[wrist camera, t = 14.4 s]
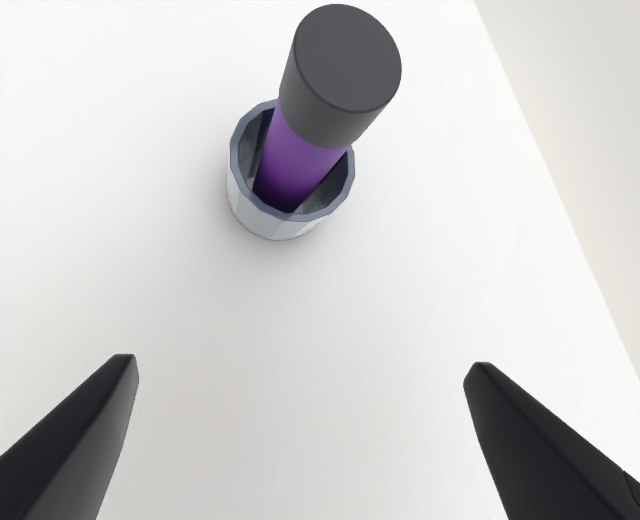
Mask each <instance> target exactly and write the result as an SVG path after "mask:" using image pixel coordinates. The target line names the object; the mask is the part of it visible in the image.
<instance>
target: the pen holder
mask: <svg viewBox="0 0 640 520" xmlns="http://www.w3.org/2000/svg"><path fill="white" fill-rule="evenodd" d="M277 100H278V99H275V100H271V101H268V102H264V103H260V104H258V105H257V106H255V107H254V108H253V109H252V110H251V111H249V112H248V113H247V114H246V115H244V116H243V117H242V118H241V119H240V120H239V122H238V125H237V127H236V129H235V131H234V133H233V135H232V137H231V139H230V146H229V160H228V175H227V196H228V200H229V204H230V207H231V209H232V211H233V213H234V215H235V216H236V218H237V219H238V221H239V222H240V223H241V224H242V225H243V226H244V227H245V228H246V229H248V230H249V231H250V232H252V233H254V234H256V235H258V236H260V237H262V238H265V239H270V240H289V239H293V238H296V237H298V236H300V235H302V234H304V233H307V232H308V231H309V230H311V229H312V228H313V227H315V226H316V225H317V224H318V223H320V222H321V221H322V220H323V219H325V218H326V217H327V216H329V215H330V214H331V213H332V212H333V211H334V210H335V209H336V208H337V207H338V206H339V205H340V204H341V203H342V202H343V201H344V200H345V199H346V198H347V196H348V194H349V191H350V188H351V186H352V183H353V180H354V178H355V161H354V151H353V149H352V146H351V145H350V147H349V148H348V149H347V150H346V151H345V153H344V154H343V155H342V156H341V157H340V158H339V160H338V161H337V162H336V163H335V164H334V166H333V167H332V168H331V169H330V170H329V172H328V173H327V174H326V175H325V176H324V177H323V179H322V180H321V181H320V182H319V183H318V185H317V186H316V187H315V188H314V189H313V191H312V192H311V193H310V194H309V195H308V196H307V198H306V199H305V200H304V201H303V202H302V204H301V205H300V206H299V207H298V208H297V209H296V210H295V211H293V212H291V213H284V212H282V211H279V210H277V209H275V208H273V207H271V206H268V205H266V204H264V203H263V202H262V201H261V200H260V199H259V198H258V197H257V196H256V195H255V194H254V193H253V183H254V179H255V176H256V172H257V169H258V165H259V162H260V159H261V155H262V152H263V148H264V145H265V141H266V138H267V135H268V131H269V128H270V124H271V121H272V117H273V114H274V111H275V107H276V104H277Z"/></svg>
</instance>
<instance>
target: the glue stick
mask: <svg viewBox="0 0 640 520" xmlns="http://www.w3.org/2000/svg"><path fill="white" fill-rule="evenodd" d="M401 72H402V67H401V59H400V54H399V51H398V48H397V46H396V44H395V42H394V40H393V38H392V36H391V35H390V34H389V32H388V31H387V30H386V28H385V27H384V26H383V25H382V24H381V23H380V22H379V21H378V20H377V19H375V18H374V17H373V16H371V15H370V14H368V13H367V12H365V11H363V10H361V9H358V8H356V7H353V6H349V5H343V4H330V5H325V6H322V7H319V8H317V9H315V10H313V11H312V12H310V13H309V14H308V15H307V16H306V17H305V18H304V19H303V20H302V21H301V22H300V24H299V25H298V27H297V30H296V32H295V35H294V39H293V42H292V46H291V49H290V53H289V56H288V60H287V63H286V67H285V70H284V74H283V77H282V81H281V84H280V89H279V97H278V100H277V104H276V107H275V111H274V114H273V117H272V121H271V124H270V128H269V131H268V135H267V138H266V141H265V145H264V148H263V152H262V155H261V159H260V162H259V165H258V169H257V172H256V176H255V179H254V183H253V193H254V194H255V195H256V196H257V197H258V198H259V199H260V200H261V201H262V202H263V203H264V204H266V205H268V206H271V207H273V208H275V209H277V210H279V211H282V212H284V213H291V212H293V211H295V210H296V209H297V208H298V207H299V206H300V205H301V204H302V202H303V201H304V200H305V199H306V198H307V196H308V195H309V194H310V193H311V192H312V191H313V189H314V188H315V187H316V186H317V185H318V183H319V182H320V181H321V180H322V179H323V177H324V176H325V175H326V174H327V173H328V172H329V170H330V169H331V168H332V167H333V166H334V164H335V163H336V162H337V161H338V160H339V158H340V157H341V156H342V155H343V154H344V153H345V151H346V150H347V149H348V148H349V147H350V145H351V144H352V143H353V142H354V141H356V140H357V139H358V138H359V137H360V136H361V135H362V133H363V132H364V131H365V130H366V129H367V128H368V126H369V125H370V124H371V123H372V122H373V121H374V119H375V118H376V117H377V116H378V115H379V114H380V112H381V111H382V110H383V109H384V108H385V107H386V105H387V104H388V103H389V102H390V101H391V99H392V98H393V97H394V95H395V94H396V92H397V90H398V87H399V84H400V80H401Z"/></svg>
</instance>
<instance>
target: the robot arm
mask: <svg viewBox="0 0 640 520" xmlns="http://www.w3.org/2000/svg"><path fill="white" fill-rule="evenodd" d="M138 384H139V373H138V368H137V362H136V358H135V356H134V355H133V354H116V355H114V356H112V357H111V358H110V359H109V360H108V361H107V362H106V363H104V364H103V365H102V366H101V367H100V368H99V369H98V370H97V371H95V372H94V373H93V374H92V375H91V376H90V377H89V378H88V379H87V380H85V381H84V382H83V383H82V384H81V385H80V386H79V387H78V388H76V389H75V390H74V391H73V392H72V393H71V394H70V395H69V396H67V397H66V398H65V399H64V400H63V401H62V402H61V403H60V404H59V405H57V406H56V407H55V408H54V409H53V410H52V411H51V412H50V413H48V414H47V415H46V416H45V417H44V418H43V419H42V420H41V421H39V422H38V423H37V424H36V425H35V426H34V427H33V428H32V429H31V430H29V431H28V432H27V433H26V434H25V435H24V436H23V437H22V438H20V439H19V440H18V441H17V442H16V443H15V444H14V445H13V446H12V447H10V448H9V449H8V450H7V451H6V452H5V453H4V454H3V455H1V456H0V520H96V517H97V515H98V512H99V509H100V507H101V504H102V501H103V499H104V496H105V493H106V491H107V488H108V485H109V483H110V480H111V477H112V475H113V472H114V469H115V467H116V464H117V461H118V459H119V456H120V453H121V450H122V447H123V443H124V439H125V436H126V432H127V428H128V424H129V420H130V416H131V412H132V408H133V404H134V400H135V396H136V392H137V389H138ZM463 387H464V391H465V395H466V399H467V402H468V406H469V409H470V413H471V417H472V420H473V424H474V427H475V431H476V434H477V437H478V441H479V444H480V446H481V449H482V452H483V454H484V457H485V460H486V462H487V465H488V467H489V470H490V473H491V475H492V478H493V480H494V483H495V486H496V488H497V491H498V493H499V496H500V499H501V501H502V504H503V506H504V509H505V512H506V514H507V517H508V519H509V520H640V483H639V482H638V481H637V480H635V479H634V478H633V477H632V476H630V475H629V474H628V473H627V472H625V471H622V469H621V468H620V467H619V466H618V465H617V464H615V463H614V462H613V461H612V460H611V459H609V458H608V457H607V456H606V455H604V454H603V453H602V452H601V451H599V450H598V449H597V448H596V447H594V446H593V445H592V444H591V443H589V442H588V441H587V440H586V439H584V438H583V437H582V436H581V435H579V434H578V433H577V432H576V431H575V430H573V429H572V428H571V427H570V426H568V425H567V424H566V423H565V422H563V421H562V420H561V419H560V418H558V417H557V416H556V415H555V414H553V413H552V412H551V411H550V410H548V409H547V408H546V407H545V406H544V405H542V404H541V403H540V402H539V401H537V400H536V399H535V398H534V397H532V396H531V395H530V394H529V393H527V392H526V391H525V390H524V389H522V388H521V387H520V386H519V385H517V384H516V383H515V382H514V381H513V380H511V379H510V378H509V377H508V376H506V375H505V374H504V373H503V372H501V371H500V370H499V369H498V368H496V367H495V366H494V365H493V364H491V363H489V362H475V363H474V364H473V365H472V367H471V369H470V370H469V372H468V374H467V375H466V377H465V379H464V382H463Z"/></svg>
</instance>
